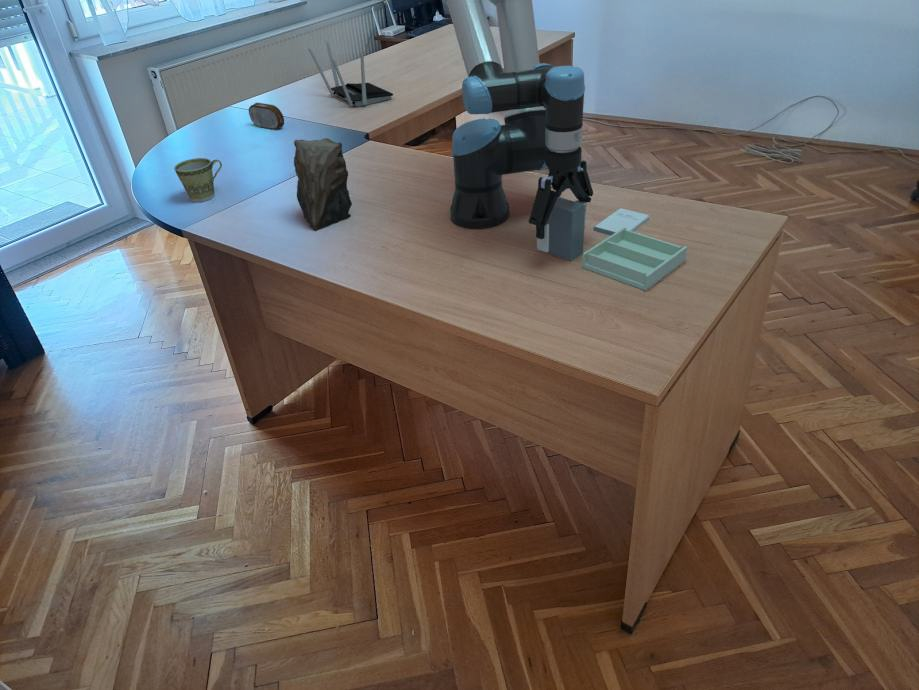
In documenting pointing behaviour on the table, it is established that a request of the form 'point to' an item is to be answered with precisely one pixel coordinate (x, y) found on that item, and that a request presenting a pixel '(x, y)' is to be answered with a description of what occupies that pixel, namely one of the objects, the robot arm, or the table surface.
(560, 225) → the blue-grey rectangular block
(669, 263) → the green divided tray
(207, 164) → the ceramic cup
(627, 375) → the table surface
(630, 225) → the external hard drive
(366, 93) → the wireless router
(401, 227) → the table surface
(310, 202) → the rock
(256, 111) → the tin
